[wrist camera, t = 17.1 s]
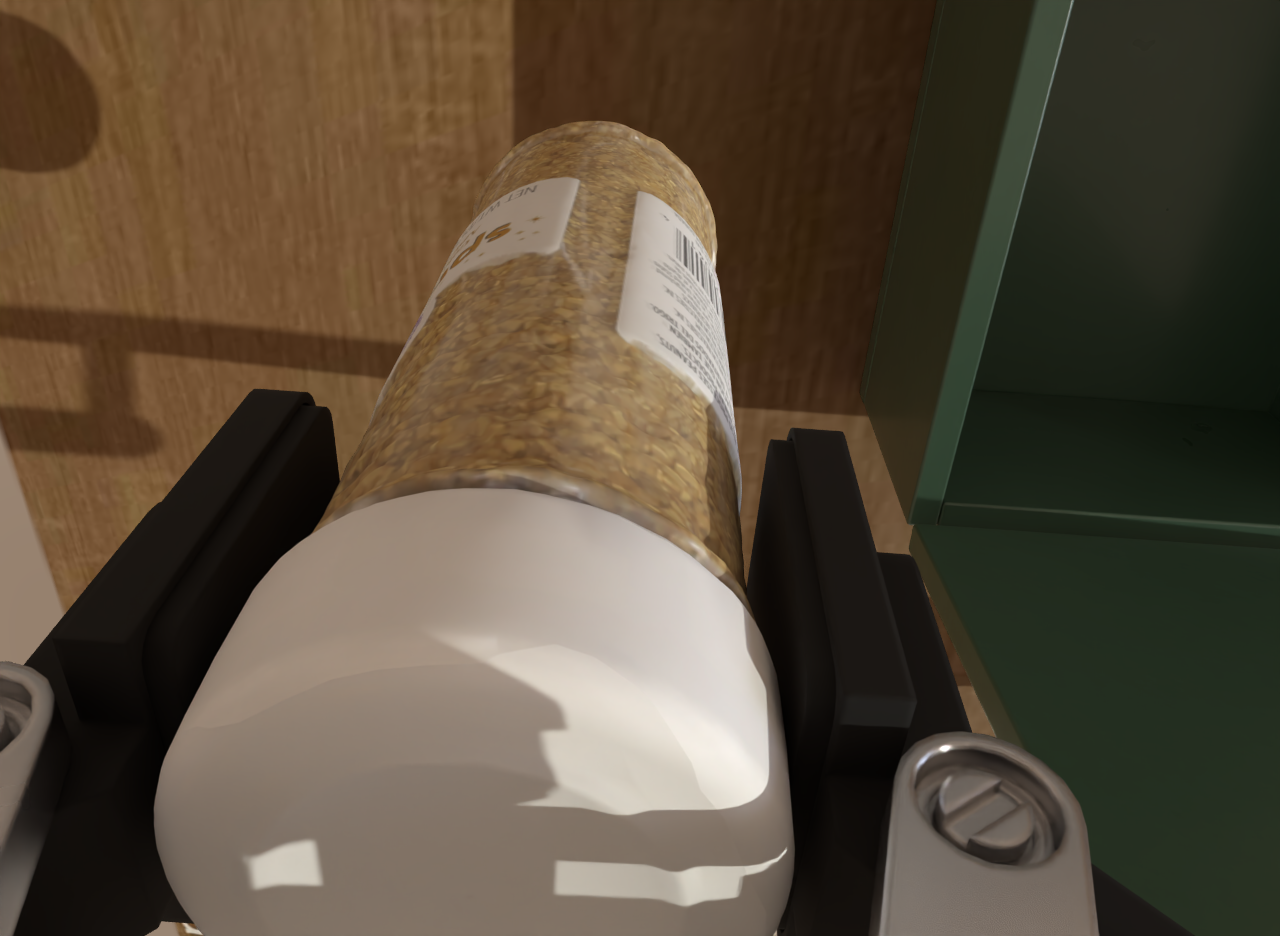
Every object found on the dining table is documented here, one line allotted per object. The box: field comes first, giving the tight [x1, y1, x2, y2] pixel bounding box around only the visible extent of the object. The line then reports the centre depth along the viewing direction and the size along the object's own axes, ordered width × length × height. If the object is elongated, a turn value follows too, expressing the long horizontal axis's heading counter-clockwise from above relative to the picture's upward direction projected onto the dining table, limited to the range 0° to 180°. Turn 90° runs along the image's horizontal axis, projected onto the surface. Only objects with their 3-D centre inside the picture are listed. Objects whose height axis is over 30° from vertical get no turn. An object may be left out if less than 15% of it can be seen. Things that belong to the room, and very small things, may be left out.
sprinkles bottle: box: [154, 121, 795, 936], centre depth 12 cm, size 5×5×13 cm
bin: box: [860, 0, 1280, 549], centre depth 25 cm, size 17×14×8 cm
